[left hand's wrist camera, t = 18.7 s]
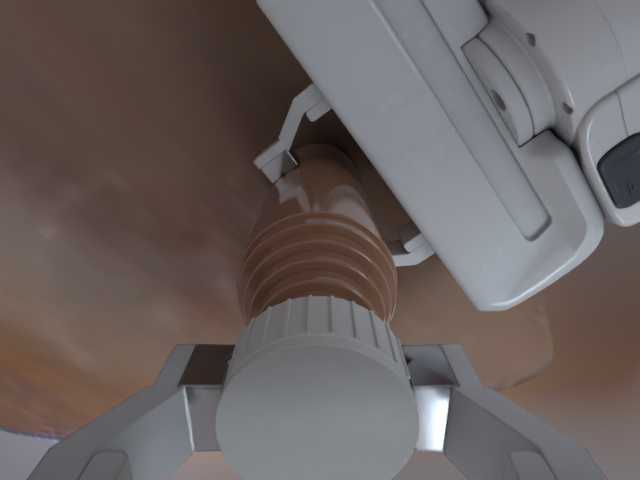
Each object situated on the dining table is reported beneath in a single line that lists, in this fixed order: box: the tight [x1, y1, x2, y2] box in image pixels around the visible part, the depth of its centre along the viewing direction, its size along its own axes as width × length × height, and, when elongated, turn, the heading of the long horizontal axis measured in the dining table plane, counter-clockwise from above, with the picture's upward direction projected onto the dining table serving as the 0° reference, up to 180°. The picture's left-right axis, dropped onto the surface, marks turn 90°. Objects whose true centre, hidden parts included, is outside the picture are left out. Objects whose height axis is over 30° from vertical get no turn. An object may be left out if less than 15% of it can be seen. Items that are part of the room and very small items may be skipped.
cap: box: [215, 295, 420, 480], centre depth 10 cm, size 4×4×2 cm
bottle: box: [237, 144, 398, 326], centre depth 19 cm, size 6×6×20 cm
